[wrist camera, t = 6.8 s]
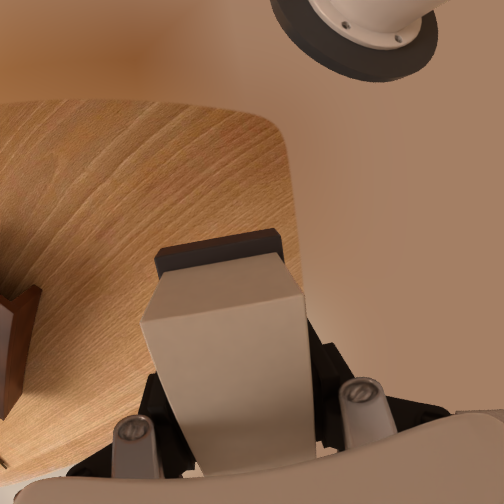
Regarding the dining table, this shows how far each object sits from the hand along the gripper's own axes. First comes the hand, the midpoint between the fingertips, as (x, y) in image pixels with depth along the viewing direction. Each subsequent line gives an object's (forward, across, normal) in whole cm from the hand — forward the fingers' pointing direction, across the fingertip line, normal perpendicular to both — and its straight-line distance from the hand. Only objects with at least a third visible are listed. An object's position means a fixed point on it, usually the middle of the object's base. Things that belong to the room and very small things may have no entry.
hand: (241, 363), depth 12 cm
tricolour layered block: (0, 0, 0) cm, 0 cm away
